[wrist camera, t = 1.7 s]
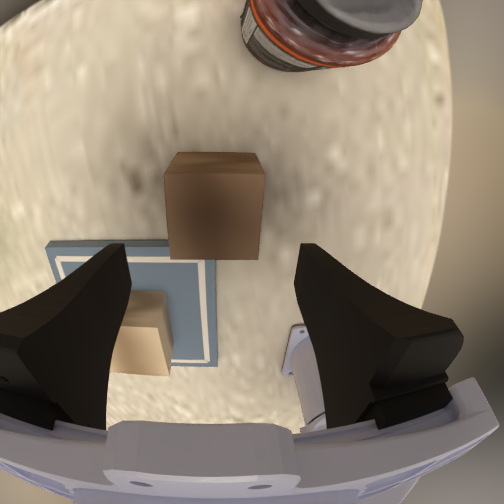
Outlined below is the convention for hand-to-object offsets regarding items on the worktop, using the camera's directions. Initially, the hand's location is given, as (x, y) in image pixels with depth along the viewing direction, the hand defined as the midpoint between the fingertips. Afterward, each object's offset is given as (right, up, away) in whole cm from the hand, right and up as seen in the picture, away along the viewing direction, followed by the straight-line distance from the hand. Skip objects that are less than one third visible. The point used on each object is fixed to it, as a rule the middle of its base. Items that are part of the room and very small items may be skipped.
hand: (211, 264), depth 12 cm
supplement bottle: (+4, +14, +2) cm, 15 cm away
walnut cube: (-1, +5, +8) cm, 9 cm away
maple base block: (-8, -5, +12) cm, 15 cm away
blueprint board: (-8, -5, +13) cm, 16 cm away
